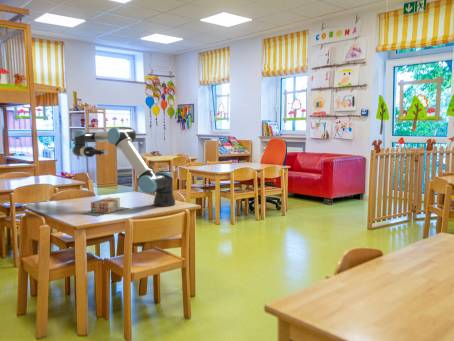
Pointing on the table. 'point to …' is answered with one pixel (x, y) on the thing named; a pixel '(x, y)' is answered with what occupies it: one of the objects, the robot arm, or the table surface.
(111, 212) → the mat
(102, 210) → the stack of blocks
